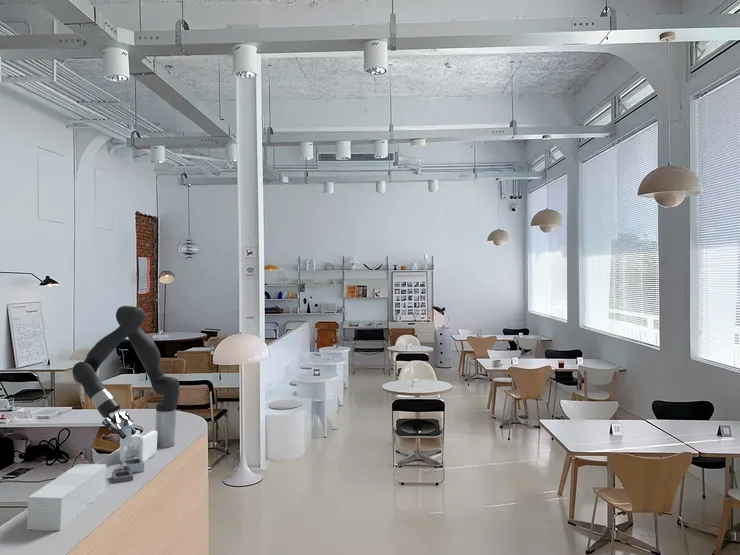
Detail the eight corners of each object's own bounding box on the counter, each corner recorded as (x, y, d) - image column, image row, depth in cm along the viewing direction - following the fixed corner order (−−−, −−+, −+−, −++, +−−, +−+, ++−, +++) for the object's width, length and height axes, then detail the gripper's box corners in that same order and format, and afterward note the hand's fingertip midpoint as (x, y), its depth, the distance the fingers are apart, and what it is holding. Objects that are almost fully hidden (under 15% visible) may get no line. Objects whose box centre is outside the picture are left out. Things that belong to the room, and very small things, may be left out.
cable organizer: (141, 465, 240) (142, 438, 240) (117, 464, 241) (118, 437, 241) (157, 454, 255) (158, 429, 255) (134, 453, 256) (136, 428, 256)
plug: (119, 444, 224) (120, 418, 224) (129, 443, 226) (130, 417, 226) (121, 447, 221) (122, 420, 221) (130, 445, 223) (132, 419, 223)
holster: (111, 478, 224) (111, 472, 224) (130, 476, 227) (130, 469, 227) (113, 484, 218) (114, 478, 218) (132, 481, 221) (133, 475, 221)
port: (120, 469, 234) (121, 459, 234) (140, 466, 238) (141, 456, 238) (123, 475, 227) (123, 465, 227) (144, 472, 232) (144, 462, 232)
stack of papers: (76, 491, 210) (77, 463, 210) (105, 492, 210) (106, 464, 210) (26, 530, 178) (28, 496, 178) (60, 531, 178) (61, 497, 178)
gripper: (98, 401, 218) (123, 434, 216) (123, 393, 232) (147, 425, 230) (86, 413, 220) (111, 446, 217) (111, 405, 234) (135, 436, 231)
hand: (129, 435), depth 223 cm, fingers closed on plug, 5 cm apart
